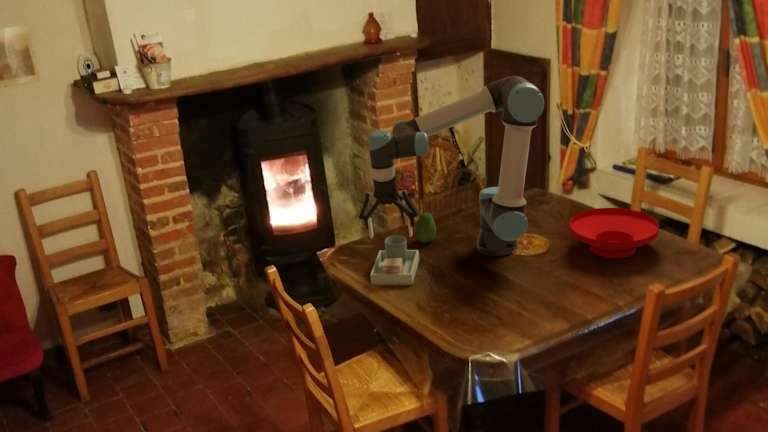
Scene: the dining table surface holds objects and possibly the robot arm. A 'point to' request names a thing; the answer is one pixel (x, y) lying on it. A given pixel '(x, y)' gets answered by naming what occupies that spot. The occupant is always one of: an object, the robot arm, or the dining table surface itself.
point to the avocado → (425, 228)
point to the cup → (396, 248)
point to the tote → (395, 279)
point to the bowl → (614, 230)
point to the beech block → (393, 266)
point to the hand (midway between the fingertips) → (391, 236)
